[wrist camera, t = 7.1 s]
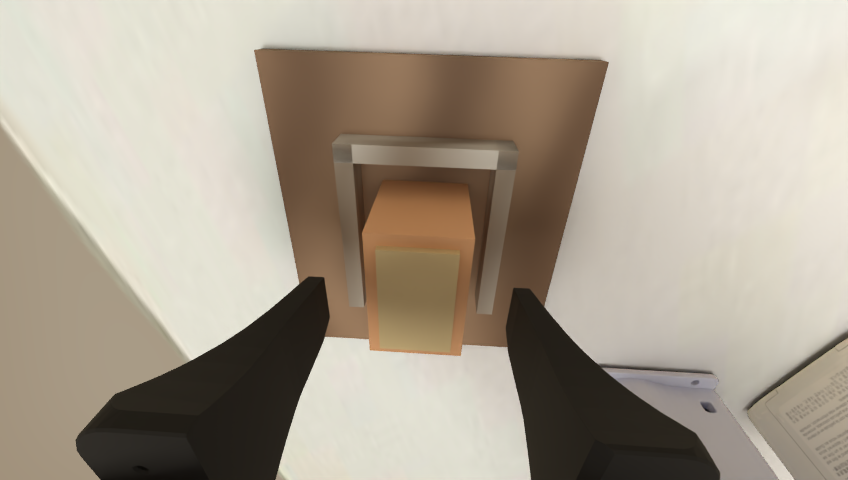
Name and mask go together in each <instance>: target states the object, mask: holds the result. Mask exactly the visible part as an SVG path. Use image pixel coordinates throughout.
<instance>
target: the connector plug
mask: <svg viewBox="0 0 848 480" xmlns="http://www.w3.org/2000/svg"><path fill="white" fill-rule="evenodd" d="M362 240H363V254H364V269H365V284H366V299H367V314H368V329H369V344H370V350H375V351H391V352H407V353H423V354H439V355H455V356H461V349H462V341H463V333H464V325H465V317H466V309H467V301H468V293H469V285H470V277H471V269H472V261H473V253H474V245H475V234H474V226H473V219H472V211H471V204H470V197H469V189H468V184H462V183H442V182H421V181H401V180H383V181H382V183H381V186H380V188H379V191H378V194H377V196H376V199H375V201H374V204H373V206H372V209H371V211H370V214H369V216H368V219H367V222H366V224H365V227H364V229H363V232H362Z"/></svg>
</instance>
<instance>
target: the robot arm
mask: <svg viewBox="0 0 848 480" xmlns="http://www.w3.org/2000/svg"><path fill="white" fill-rule="evenodd" d="M329 319H330V313H329V306H328V299H327V293H326V286H325V279H324V277H313V276H308V277H307V278H306V279H305V280H304V281H302V282H301V283H300V284H299V285H298V286H297V287H296V288H294V289H293V290H292V291H291V292H290V293H289V294H288V295H286V296H285V297H284V298H283V299H282V300H281V301H279V302H278V303H277V304H276V305H275V306H273V307H272V308H271V309H270V310H269V311H267V312H266V313H265V314H263V315H262V316H261V317H259V318H258V319H257V320H256V321H254V322H253V323H252V324H250V325H249V326H248V327H246V328H245V329H243V330H242V331H240V332H239V333H237V334H236V335H234V336H233V337H231V338H230V339H228V340H227V341H225V342H223V343H222V344H220V345H219V346H217V347H215V348H213V349H211V350H210V351H208V352H206V353H204V354H202V355H201V356H199V357H197V358H195V359H194V360H192V361H190V362H188V363H186V364H184V365H182V366H180V367H178V368H176V369H173V370H171V371H169V372H167V373H165V374H163V375H161V376H158V377H156V378H154V379H151V380H149V381H147V382H144V383H142V384H139V385H137V386H134V387H132V388H130V389H127V390H125V391H122V392H120V393H117V394H115V395H114V396H113V397H112V398H111V399H110V400H109V401H108V402H107V404H106V405H105V406H104V407H103V408H102V409H101V410H100V411H99V413H98V414H97V415H96V416H95V417H94V418H93V419H92V420H91V421H90V423H89V424H88V425H87V426H86V427H85V428H84V429H83V431H81V433H80V434H79V435H78V437H77V439H76V447H77V451H78V453H79V454H80V456H81V457H82V458H83V460H84V461H85V462H86V463H87V464H88V465H89V467H90V468H91V469H92V470H93V471H94V472H95V474H96V475H97V476H98V477H99V478H100V479H101V480H275V479H276V475H277V472H278V468H279V464H280V460H281V457H282V453H283V450H284V446H285V443H286V439H287V436H288V432H289V429H290V426H291V423H292V419H293V416H294V413H295V410H296V407H297V404H298V401H299V398H300V396H301V393H302V391H303V388H304V386H305V384H306V381H307V379H308V376H309V374H310V372H311V369H312V367H313V365H314V362H315V360H316V358H317V355H318V353H319V351H320V348H321V346H322V343H323V341H324V337H325V334H326V331H327V327H328V323H329ZM506 337H507V346H508V353H509V358H510V362H511V367H512V371H513V375H514V379H515V383H516V388H517V392H518V396H519V400H520V404H521V409H522V414H523V419H524V426H525V433H526V441H527V448H528V457H529V465H530V473H531V480H779V479H778V477H777V476H776V474H775V473H774V472H773V470H772V469H771V468H770V466H769V465H768V463H767V462H766V461H765V459H764V458H763V457H762V455H761V454H760V452H759V451H758V450H757V448H756V447H755V446H754V444H753V443H752V441H751V440H750V439H749V437H748V436H747V435H746V433H745V432H744V430H743V429H742V428H741V426H740V425H739V424H738V422H737V421H736V419H735V418H734V417H733V415H732V414H731V412H730V411H729V410H728V408H727V407H726V406H725V404H724V403H723V401H722V400H721V399H720V397H719V396H718V395H717V393H716V392H715V390H714V389H715V387H716V386H717V385H718V382H719V381H718V379H717V378H716V376H715V375H712V374H701V373H685V372H668V371H651V370H634V369H617V368H601V367H600V366H599V365H598V364H597V363H595V362H594V361H593V360H592V359H591V358H590V357H589V356H588V355H587V354H586V353H585V352H584V351H582V350H581V349H580V348H579V347H578V345H577V344H576V343H575V342H574V341H573V340H572V339H571V338H570V337H569V336H568V335H567V334H566V333H565V331H564V330H563V329H562V328H561V327H560V326H559V324H558V323H557V322H556V321H555V320H554V319H553V317H552V316H551V315H550V314H549V312H548V311H547V310H546V309H545V307H544V306H543V305H542V303H541V302H540V301H539V300H538V298H537V297H536V296H535V294H534V293H533V292H532V291H531V289H529V288H513V292H512V297H511V303H510V308H509V313H508V318H507V323H506Z"/></svg>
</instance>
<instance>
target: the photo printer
mask: <svg viewBox="0 0 848 480" xmlns="http://www.w3.org/2000/svg"><path fill="white" fill-rule="evenodd" d="M747 414H748V417H749V419H750V420H751V422H752V423H753V424H754V426H755V427H756V429H757V430H758V431H759V433H760V434H761V435H762V436H763V438H764V439H765V441H766V442H767V443H768V444H769V446H770V447H771V448H772V450H773V451H774V452H775V454H776V455H777V456H778V458H779V459H780V460H781V462H782V463H783V464H784V466H785V467H786V469H787V470H788V471H789V472H790V474H791V475H792V476H793V478H794V479H795V480H848V338H847V339H846V340H844V341H842V342H841V343H839V344H838V345H836V346H835V347H834V348H832V349H831V350H830V351H828V352H827V353H825V354H824V355H822V356H821V357H820V358H818V359H817V360H815V361H814V362H812V363H811V364H810V365H808V366H807V367H805V368H804V369H803V370H801V371H800V372H798V373H797V374H796V375H794V376H793V377H791V378H790V379H789V380H787V381H786V382H784V383H783V384H782V385H780V386H779V387H777V388H776V389H774V390H773V391H771V392H770V393H769V394H767V395H766V396H765V397H763V398H762V399H761V400H759V401H758V402H757V403H756V404H754V405H753V406H752V407H751V408H750V409H749V410H748V413H747Z"/></svg>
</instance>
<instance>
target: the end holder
mask: <svg viewBox="0 0 848 480" xmlns="http://www.w3.org/2000/svg"><path fill="white" fill-rule="evenodd" d="M254 52H255V57H256V62H257V67H258V72H259V77H260V83H261V88H262V93H263V98H264V103H265V108H266V113H267V119H268V124H269V129H270V134H271V139H272V144H273V149H274V155H275V160H276V165H277V170H278V175H279V180H280V186H281V191H282V196H283V201H284V206H285V211H286V216H287V222H288V227H289V232H290V237H291V242H292V247H293V252H294V258H295V263H296V268H297V273H298V278H299V283H301V282H302V281H304V280H305V279H306V278H307V277H308V276H313V277H324V279H325V286H326V293H327V299H328V306H329V313H330V319H329V323H328V327H327V331H326V334H325V337H342V338H359V339H369V329H368V314H367V299H366V284H365V269H364V254H363V240H362V232H363V229H364V227H365V224H366V222H367V219H368V216H369V214H370V211H371V209H372V206H373V204H374V201H375V199H376V196H377V194H378V191H379V188H380V186H381V183H382V181H383V180H401V181H421V182H442V183H462V184H468V189H469V197H470V204H471V211H472V219H473V226H474V234H475V245H474V253H473V261H472V269H471V277H470V285H469V293H468V301H467V309H466V317H465V325H464V333H463V341H462V345H480V346H497V347H508V346H507V337H506V323H507V318H508V313H509V308H510V303H511V297H512V292H513V288H529V289H531V291H532V292H533V293H534V294H535V296H536V297H537V298H538V300H539V301H540V302H541V303H542V305H543V306H544V305H545V301H546V297H547V293H548V290H549V286H550V282H551V278H552V274H553V271H554V267H555V263H556V259H557V256H558V252H559V248H560V244H561V240H562V237H563V233H564V229H565V225H566V222H567V218H568V214H569V210H570V206H571V203H572V199H573V195H574V191H575V188H576V184H577V180H578V176H579V173H580V169H581V165H582V161H583V157H584V154H585V150H586V146H587V142H588V139H589V135H590V131H591V127H592V123H593V120H594V116H595V112H596V108H597V105H598V101H599V97H600V93H601V90H602V86H603V82H604V78H605V74H606V71H607V67H608V63H609V62H606V61H602V60H577V59H548V58H518V57H489V56H460V55H431V54H402V53H373V52H344V51H314V50H285V49H258V50H254Z"/></svg>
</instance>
